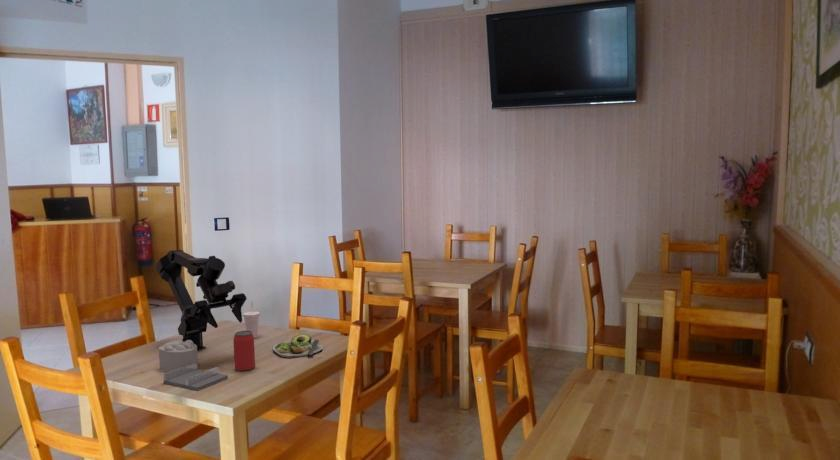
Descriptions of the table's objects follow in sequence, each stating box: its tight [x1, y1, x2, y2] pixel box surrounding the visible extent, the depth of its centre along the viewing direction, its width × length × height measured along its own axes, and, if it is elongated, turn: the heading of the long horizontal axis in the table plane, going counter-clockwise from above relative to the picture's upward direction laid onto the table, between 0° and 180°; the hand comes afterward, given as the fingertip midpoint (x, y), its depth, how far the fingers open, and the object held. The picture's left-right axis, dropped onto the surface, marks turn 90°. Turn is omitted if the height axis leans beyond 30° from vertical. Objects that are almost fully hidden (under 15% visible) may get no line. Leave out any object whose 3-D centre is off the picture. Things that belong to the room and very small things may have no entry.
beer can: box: [232, 330, 256, 372], centre depth 204 cm, size 7×7×12 cm
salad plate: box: [272, 333, 323, 359], centre depth 223 cm, size 19×18×5 cm
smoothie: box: [242, 301, 261, 339], centre depth 242 cm, size 6×6×14 cm
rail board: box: [162, 363, 229, 392], centre depth 193 cm, size 12×15×3 cm
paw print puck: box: [158, 339, 199, 373], centre depth 206 cm, size 10×13×9 cm
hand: (229, 324), depth 208 cm, fingers open, 9 cm apart
